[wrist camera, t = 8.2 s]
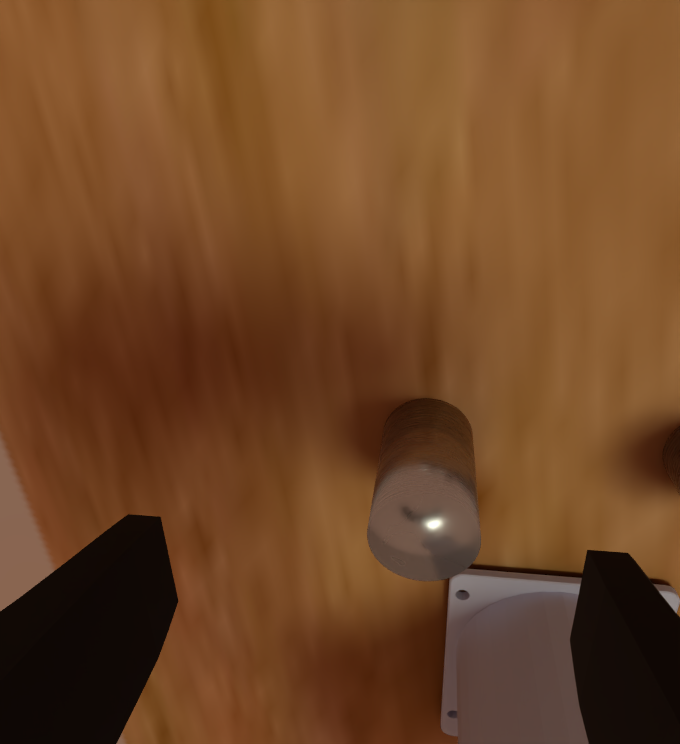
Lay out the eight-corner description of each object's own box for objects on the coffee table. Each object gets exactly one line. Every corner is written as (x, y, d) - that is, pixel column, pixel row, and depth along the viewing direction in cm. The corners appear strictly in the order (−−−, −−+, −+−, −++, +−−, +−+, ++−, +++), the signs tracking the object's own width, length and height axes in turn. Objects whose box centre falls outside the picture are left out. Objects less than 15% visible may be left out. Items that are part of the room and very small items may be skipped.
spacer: (469, 475, 21) (477, 585, 17) (383, 470, 21) (368, 575, 17) (475, 400, 20) (485, 498, 15) (383, 397, 20) (366, 490, 16)
